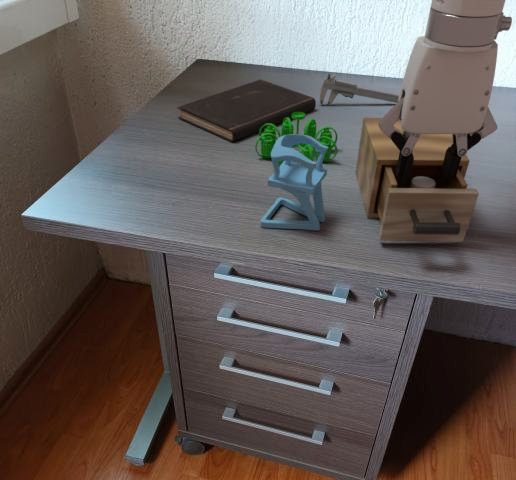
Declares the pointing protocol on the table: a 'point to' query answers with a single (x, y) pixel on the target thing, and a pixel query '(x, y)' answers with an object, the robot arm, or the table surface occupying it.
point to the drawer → (423, 206)
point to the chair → (297, 182)
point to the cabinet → (394, 157)
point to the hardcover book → (245, 109)
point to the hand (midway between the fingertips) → (424, 179)
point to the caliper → (352, 91)
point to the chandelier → (287, 129)
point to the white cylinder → (422, 182)
